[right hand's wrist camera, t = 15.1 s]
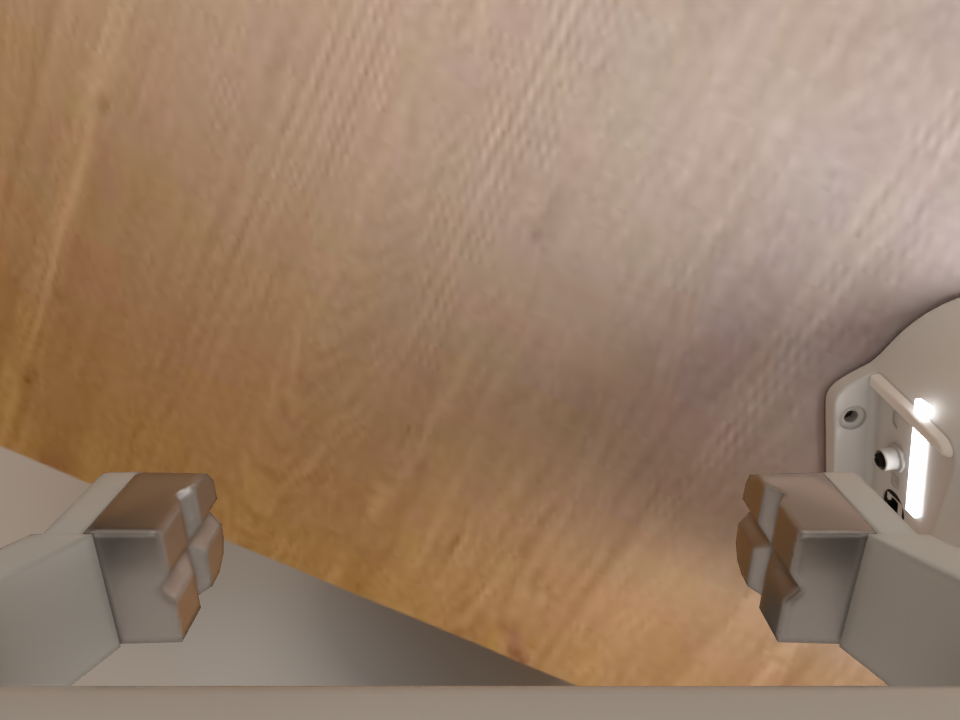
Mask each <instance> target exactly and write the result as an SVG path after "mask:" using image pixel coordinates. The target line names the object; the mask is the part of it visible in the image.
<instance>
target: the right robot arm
mask: <svg viewBox="0 0 960 720" xmlns="http://www.w3.org/2000/svg"><path fill="white" fill-rule="evenodd" d="M851 410H852V413H851V414H850V415H849V416H848V417H844V416H845V414H846V413H847V412H848V411H851ZM216 500H217V495H216V490H215V486H214V481H213V479H212V478H211V477H210V476H209V475H208V474H206V473H154V472H143V473H140V472H110V473H105V474H102V475H101V476H100V477H99V478H98V479H97V480H96V481H95V482H94V483H93V484H92V485H91V486H90V487H89V488H88V489H87V490H86V491H85V492H84V493H83V494H82V495H81V496H80V497H79V498H78V499H77V500H76V501H75V502H74V503H73V504H72V505H71V506H70V507H69V508H68V509H67V510H66V511H65V512H64V513H63V514H62V515H61V516H60V517H59V518H58V519H57V520H56V521H55V522H54V523H53V524H52V525H51V526H50V527H49V528H48V529H47V530H46V531H45V532H44V533H43V534H31V535H29V536H27V537H24V538H22V539H20V540H18V541H15V542H13V543H11V544H9V545H6V546H4V547H2V548H0V720H960V297H959V298H956V299H954V300H951V301H949V302H947V303H944V304H942V305H940V306H938V307H936V308H934V309H933V310H931V311H929V312H927V313H926V314H924V315H923V316H921V317H920V318H918V319H917V320H916V321H914V322H913V323H912V324H910V325H909V326H908V327H907V328H905V329H904V330H903V331H902V332H901V333H900V334H899V335H898V336H897V337H896V338H895V339H894V340H893V341H892V342H891V343H890V344H889V345H888V346H887V347H886V348H885V349H884V350H883V351H882V352H881V353H880V354H879V355H878V356H877V357H876V358H875V359H873V360H872V361H871V362H870V363H868V364H866V365H864V366H862V367H860V368H858V369H856V370H854V371H852V372H851V373H849V374H847V375H845V376H844V377H842V378H840V379H839V380H838V381H836V382H835V383H834V384H833V385H832V386H831V387H830V388H829V390H828V392H827V394H826V472H825V473H789V474H755V475H750V476H749V478H748V480H747V482H746V484H745V489H744V495H743V500H744V502H745V503H746V505H747V506H748V508H749V510H750V512H749V513H748V515H747V516H746V517H745V518H744V519H743V520H742V521H741V522H740V523H739V524H738V531H737V539H736V549H737V560H738V564H739V567H740V571H741V574H742V576H743V578H744V580H745V582H746V584H747V586H748V587H750V588H751V589H753V590H755V591H756V592H758V593H759V594H761V595H762V596H761V601H760V607H759V608H760V610H761V612H762V614H763V615H764V617H765V619H766V621H767V623H768V625H769V626H770V628H771V630H772V632H773V634H774V636H775V637H776V639H777V641H778V642H794V643H830V644H840V646H839V647H841V648H842V649H843V650H844V651H846V652H847V653H848V654H850V655H851V656H852V657H853V658H855V659H856V660H857V661H858V662H860V663H861V664H862V665H864V666H865V667H866V668H867V669H869V670H870V671H871V672H872V673H874V674H875V675H876V676H878V677H879V678H880V679H881V680H883V681H884V682H885V683H886V684H888V685H889V686H71V685H72V684H74V683H75V682H76V681H78V680H79V679H80V678H81V677H83V676H84V675H85V674H87V673H88V672H89V671H90V670H92V669H93V668H94V667H95V666H97V665H98V664H99V663H100V662H102V661H103V660H104V659H106V658H107V657H108V656H109V655H111V654H112V653H113V652H114V651H116V650H117V649H118V648H120V644H129V643H164V642H182V641H183V639H184V637H185V636H186V634H187V632H188V630H189V628H190V626H191V625H192V623H193V621H194V619H195V617H196V615H197V614H198V612H199V610H200V608H201V607H200V601H199V596H198V595H199V594H201V593H202V592H204V591H206V590H207V589H209V588H210V587H212V585H213V584H214V582H215V580H216V578H217V576H218V574H219V571H220V567H221V562H222V558H223V554H224V536H223V530H222V524H221V523H220V522H219V521H218V520H217V519H216V518H215V517H214V516H213V515H212V513H211V512H210V510H211V508H212V506H213V505H214V503H215V502H216Z"/></svg>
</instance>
